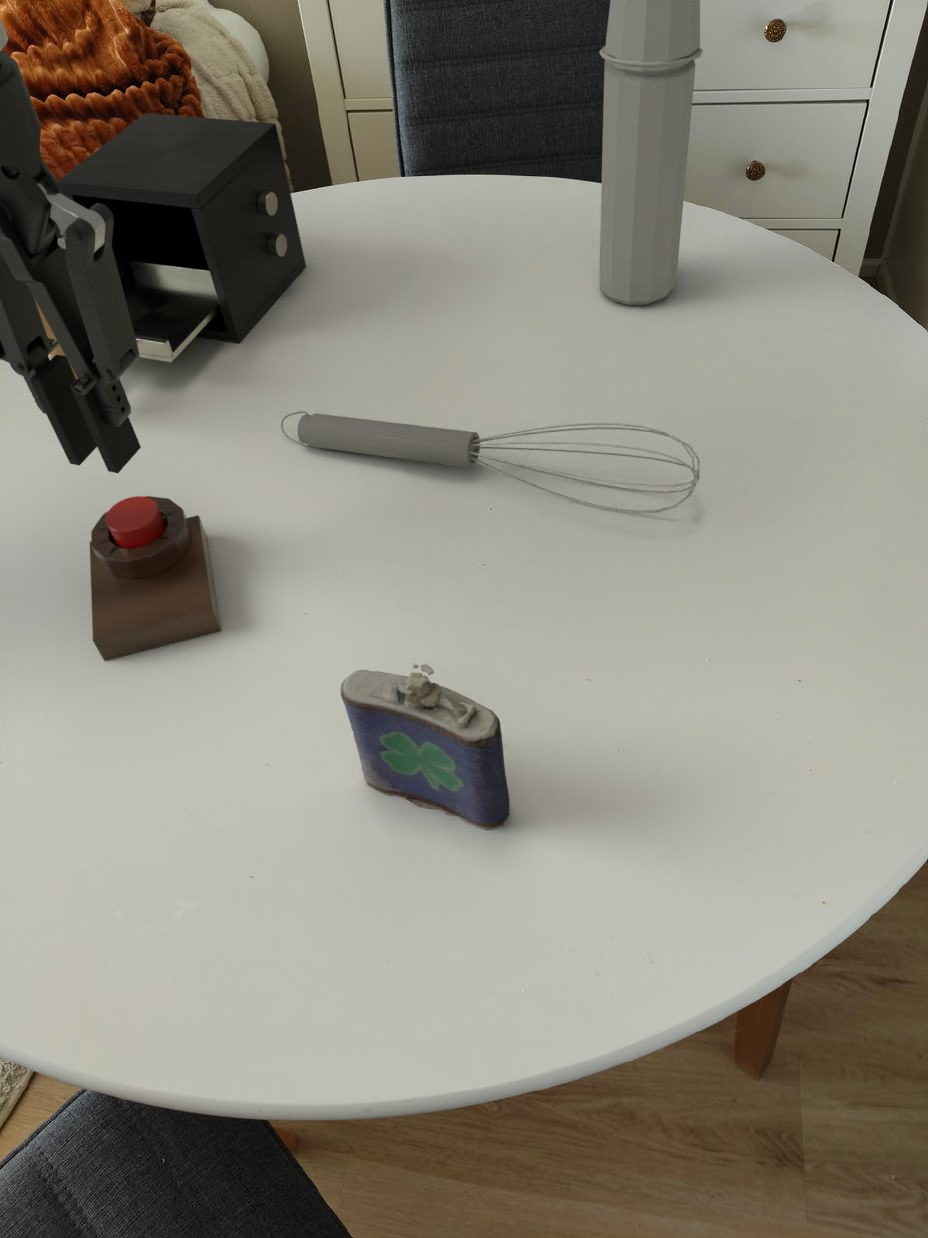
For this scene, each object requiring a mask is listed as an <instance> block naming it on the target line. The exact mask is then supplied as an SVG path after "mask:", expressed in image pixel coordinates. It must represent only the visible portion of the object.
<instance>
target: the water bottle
mask: <svg viewBox="0 0 928 1238" xmlns="http://www.w3.org/2000/svg"><path fill="white" fill-rule="evenodd" d="M608 10H609V11H608V21H607V26H606V27H607V28H606V29H607V30H606V37H605V45H604V46H603V47H602V48H601V49H600V50H599V53H598V54H599V55H600V56H601V58H602V59H604V73H603V107H602V108H603V109H602V110H603V111H602V113H603V114H602V152H601V187H600V188H601V189H600V190H601V191H600V229H599V230H600V233H599V264H598V265H599V267H598V268H599V269H598V277H599V278H598V280H599V289H600V291H601V292H602V293H603V294H604V295H605V296H607V298H609V300H611V301H612V302H615V303H616V302H617V303H621V304H624V305H627V306H637V305H638V306H639V305H641V306H642V305H643V306H644V305H650V304H652V303H655V302H658V301H661V300H663V299H664V298H666V297H667V296H668V295H669V294H670V293H671V291H672V290H674V288H675V287H676V286H677V278H678V267H679V266H678V265H679V254H680V242H681V233H682V232H681V231H682V220H683V209H684V197H685V187H686V177H687V176H686V175H687V165H688V154H689V153H688V152H689V144H690V143H689V141H690V131H691V122H692V121H691V120H692V111H693V110H692V108H693V97H694V88H695V87H694V86H695V75H696V62H695V60H696V59H699V58H701V56H702V54H703V52H704V50H703V49H702V48H701V0H610V2H609V9H608Z"/></svg>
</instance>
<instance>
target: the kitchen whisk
mask: <svg viewBox="0 0 928 1238" xmlns="http://www.w3.org/2000/svg"><path fill="white" fill-rule="evenodd" d="M298 414H303V415H302V416H301V417H300V419H299V421H298V423H297V437H298V440H299V441H297V440H295V439H294V438H292V437H290V436H289V435H288V434H287V433H286V432H285V430H284V421H285V420H286V419H287V418H288V417H290V416H293V415H298ZM579 426H594V427H579ZM595 426H596V427H595ZM609 426H610V427H609ZM612 426H613V427H612ZM615 426H616V427H615ZM617 426H619V427H617ZM620 426H623V427H620ZM563 427H564V428H563ZM565 427H572V428H565ZM280 428H281V431H282V433H283V435H284V436H285V437H286V438H287V439H289V440H290V441H291V442H293V443H296V444H298V445H300V446H303V447H312V448H317V449H326V450H334V451H341V452H350V453H356V454H365V455H373V456H380V457H388V458H394V459H401V460H411V461H417V462H425V463H433V464H439V465H449V466H455V467H456V466H457V467H463V468H464V467H465V468H475V466H476V464H477V463H478V464H481V465H483V466H485V467H486V468H489V469H490V470H493V471H495V472H497V473H500V474H501V475H504V476H506V477H508V478H511V479H513V480H516V481H518V482H521V483H523V484H524V485H528V486H530V487H533V488H535V489H538V490H541V491H543V492H546V493H548V494H551V495H554V496H558V497H561V498H564V499H567V500H570V501H573V502H577V503H580V504H584V505H588V506H593V507H596V508H599V509H604V510H608V511H616V512H621V513H629V514H660V513H663V512H666V511H669V510H673V509H677V508H678V507H679V506H680V505H681V504H682V503H683V502H685V501H686V500H688V499H689V498H691V497H692V495H693V493H694V491H695V489H696V487H697V485H698V483H699V481H700V478H701V465H700V463H701V462H700V461H701V460H700V457H699V456H698V455H697V454H696V452H695V451H694V449H693V448H692V446H691V444H689V443H687V442H685V441H683V440H681V439H680V438H677V437H676V436H674V435H671V434H669V433H668V432H667V431H663V430H659V429H656V428H653V427H649V426H645V425H641V424H640V425H638V424H629V423H620V422H583V423H569V424H567V423H566V424H558V425H549V426H542V427H535V428H529V429H522V430H516V431H512V432H511V431H510V432H506V433H500V434H496V435H491V436H486V437H481V438H480V435H479V433H478V432H476V431H467V430H460V429H451V428H445V427H444V428H443V427H435V426H427V425H426V426H425V425H418V424H408V423H400V422H391V421H383V420H382V421H381V420H376V419H375V420H374V419H367V418H366V419H365V418H357V417H351V416H350V417H349V416H341V415H333V414H324V413H316V412H315V413H313V414H309V413H308V412H307V411H305V410H300V411H296V412H292V413H291V412H290V413H288V414H287V415H285V416H283V418H282V420H281V422H280ZM556 428H561V429H556ZM545 429H549V430H545ZM538 430H540V431H538ZM583 430H584V431H585V430H626V431H637V432H646V433H652V434H653V433H654V434H657V435H660V436H664V437H668V438H671V439H672V440H674V441H676V442H678V443H679V444H681V445H682V447H683V449H685V451H686V452H687V454H688V455H689V456H690V458H691V461H692V462H691V463H692V466H691V465H690V464H688V463H687V462H685V461H683V460H681V459H680V458H678V457H676V456H672V455H670V454H667V453H663V452H660V451H656V450H652V449H646V448H641V447H637V446H636V447H635V446H628V445H619V444H609V443H597V442H596V443H595V442H581V441H580V442H576V441H575V442H573V441H516V442H513V441H512V442H489V443H488V441H495V440H500V439H508V438H515V437H521V436H530V435H536V434H544V433H545V434H546V433H556V432H569V431H583ZM483 442H484V443H483ZM485 442H487V443H485ZM503 445H504V446H505V445H585V446H598V447H599V446H600V447H611V448H619V449H629V450H636V451H642V452H646V453H651V454H657V455H660V456H663V457H667V458H670V459H672V460H668V459H662V458H656V457H650V456H643V455H632V454H623V453H613V452H603V451H602V452H601V451H586V450H575V449H574V450H573V449H572V450H571V449H554V448H534V447H533V448H532V447H531V448H530V447H506V446H505V447H504V446H503ZM688 448H689V449H688ZM482 449H486V450H487V449H488V450H489V449H490V450H517V451H518V450H519V451H520V450H521V451H542V452H543V451H545V452H562V453H564V452H565V453H578V454H579V453H580V454H593V455H607V456H608V455H609V456H617V457H629V458H636V459H644V460H645V459H647V460H653V461H659V462H663V463H664V462H665V463H669V464H675V465H678V466H681V467H685V468H688V469H690V471H691V473H692V474H693V479H692V480H690V481H688V482H683V483H676V484H648V483H647V484H646V483H632V482H625V481H618V480H617V481H616V480H609V479H601V478H595V477H589V476H584V475H577V474H572V473H567V472H562V471H557V470H552V469H546V468H543V467H537V466H533V465H526V464H524V463H519V462H515V461H510V460H505V459H502V458H498V457H493V456H489V455H486V454H481V453H480V452H481V450H482ZM691 452H692V453H691ZM692 454H693V455H694V456H693V455H692ZM479 457H480V458H484V459H487V460H491V461H495V462H498V463H502V464H505V465H510V466H513V467H518V468H522V469H525V470H529V471H533V472H536V473H540V474H546V475H550V476H553V477H558V478H562V479H566V480H571V481H576V482H581V483H584V484H585V483H586V484H590V485H596V486H602V487H607V488H613V489H618V490H624V491H633V492H639V493H654V494H674V493H675V494H677V493H683V492H685V491H688V492H687V493H688V494H687V495H686V496H685V497H683V499H681V500H680V501H679V502H677V503H676V504H673V505H670V506H667V507H663V508H659V509H653V510H652V509H649V510H648V509H647V510H646V509H645V510H642V509H641V510H640V509H639V510H637V509H636V510H635V509H634V510H631V509H623V508H618V507H617V508H616V507H609V506H604V505H600V504H595V503H592V502H587V501H583V500H579V499H577V498H573V497H570V496H567V495H564V494H561V493H558V492H555V491H552V490H550V489H548V488H545V487H542V486H539V485H537V484H533V483H532V482H528V481H526V480H524V479H521V478H519V477H517V476H515V475H512V474H509V473H508V472H505V471H504V470H501V469H499V468H496V467H494V466H492V465H489V464H488V463H486V462H483V461H481V460H479ZM695 458H696V460H697V469H696V467H695ZM583 479H584V480H583ZM588 480H591V481H588ZM593 481H597V482H593ZM598 482H603V483H598ZM604 483H609V484H604ZM610 483H611V484H619V485H626V486H637V487H649V488H674V487H681V486H686V485H690V486H688V487H686V488H684V489H680V490H667V491H666V490H665V491H664V490H663V491H662V490H647V489H646V490H645V489H637V488H629V487H622V486H615V485H610Z"/></svg>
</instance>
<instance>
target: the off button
mask: <svg viewBox="0 0 928 1238" xmlns="http://www.w3.org/2000/svg"><path fill="white" fill-rule="evenodd" d="M107 512H108V513H107V515H106V524H107V526H108V528H109V530H110V532H111V534H112V536H113V539H114V541H115V542H116V544H117V545H119V546H120V547H122V548H127V549H134V548H138V547H142V546H146V545H149V544H150V543H152V542H153V541H155V540H157V539H158V538H160V537H161V536H162V534H163V532H164V529H165V523H164V521H163V518H162V516H161V514H160V511H159V509H158V506H157V504H156V503H155V502H154V501H153V500H152V499H150V498H147V497H145V496H143V495H139V496H138V495H137V496H130V497H127V498H124V499H122V500H120V501H118V502H116V503H115V504H113V506H111V507H110V508H109V510H107Z"/></svg>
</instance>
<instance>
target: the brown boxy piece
mask: <svg viewBox="0 0 928 1238" xmlns="http://www.w3.org/2000/svg"><path fill="white" fill-rule="evenodd" d="M144 497H147V498H150V499H152V500H153V501H154V502H155V503H156V504H157V506H158V509H159V511H160V514H161V516H162V518H163V521H164V523H165V529H164V532H163V534H162V536H161V537H160V538H158V539H157V540H155V541H153V542H152V543H150V544H149V545H146V546H142V547H138V548H134V549H127V548H122V547H120V546H119V545H117V544H116V542H115V541H114V539H113V536H112V534H111V532H110V530H109V528H108V526H107V524H106V515H107V513H108V511H106V512H105V513H103V514H102V515H101V517H100V518H99V519H98V521H97V522H96V523H95V525H94V527H93V528H92V529H91V531H90V535H91V538H90V539H91V540H90V541H89V565H90V566H89V567H90V595H91V599H90V600H91V624H92V627H91V629H92V642H93V644H94V645H95V647H96V649H97V651H98V652H99V655H100V656H101V658H102V659H103V661H104V662H106V661H109V660H110V661H111V660H113V659H117V658H121V657H125V656H130V655H133V654H137V653H141V652H146V651H149V650H153V649H157V648H161V647H164V646H167V645H172V644H176V643H180V642H185V641H189V640H192V639H195V638H200V637H204V636H208V635H211V634H215V633H219V632H221V631H222V629H221V627H222V626H221V621H220V616H219V608H218V602H217V594H216V587H215V582H214V575H213V568H212V563H211V556H210V555H211V554H210V548H209V542H208V536H207V533H206V531H205V528H204V525H203V522H202V520H201V517H200V515H198V514H197V515H193V516H189V517H187V515H186V514H185V511H184V509H183V508H182V507H181V506H179V505H178V504H177V503H176V502H175V501H173V500H171V499H170V498H167V497H159V496H151V495H145V496H144Z"/></svg>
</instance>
